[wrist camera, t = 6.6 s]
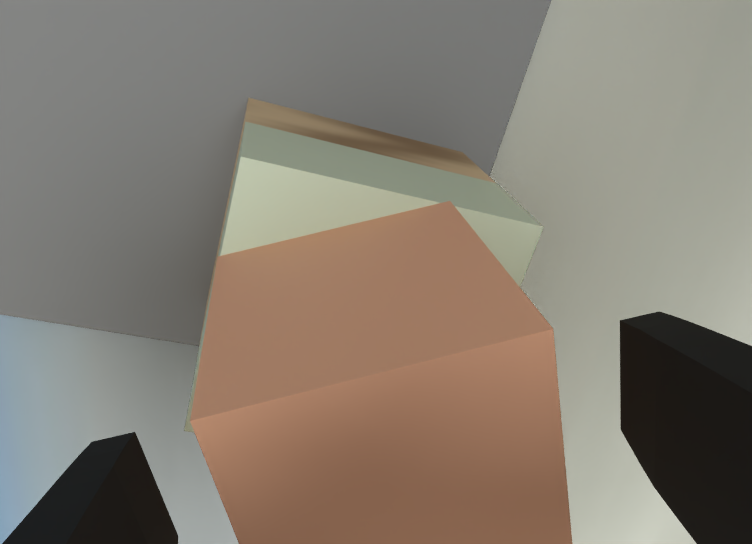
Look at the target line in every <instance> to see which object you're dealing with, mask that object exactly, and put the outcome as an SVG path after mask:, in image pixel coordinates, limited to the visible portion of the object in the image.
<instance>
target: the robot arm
mask: <svg viewBox="0 0 752 544" xmlns="http://www.w3.org/2000/svg"><path fill="white" fill-rule="evenodd" d="M620 390H621V431H622V432H623V434H624V436H625V438H626V440H627V441H628V443H629V445H630V447H631V448H632V450H633V452H634V454H635V456H636V457H637V459H638V461H639V463H640V464H641V466H642V468H643V469H644V471H645V473H646V474H647V476H648V478H649V479H650V481H651V483H652V484H653V486H654V488H655V489H656V490H657V492H658V493H659V494H660V496H661V497H662V498H663V500H664V501H665V502H666V504H667V505H668V506H669V508H670V509H671V510H672V512H673V513H674V514H675V516H676V517H677V518H678V520H679V521H680V522H681V523H682V525H683V526H684V527H685V529H686V530H687V531H688V533H689V534H690V535H691V537H692V538H693V539H694V540H695V542H696V543H697V544H752V346H750V345H747V344H745V343H742V342H740V341H737V340H735V339H732V338H730V337H727V336H725V335H722V334H720V333H717V332H715V331H712V330H709V329H707V328H704V327H702V326H699V325H697V324H694V323H691V322H689V321H686V320H683V319H680V318H678V317H675V316H672V315H668V314H665V313H662V312H655V313H651V314H647V315H642V316H638V317H633V318H629V319H625V320H620ZM2 544H178V535H177V532H176V530H175V527H174V525H173V522H172V520H171V518H170V515H169V513H168V510H167V508H166V506H165V503H164V501H163V498H162V496H161V494H160V491H159V489H158V486H157V484H156V481H155V479H154V477H153V474H152V472H151V469H150V467H149V465H148V462H147V460H146V457H145V455H144V452H143V450H142V448H141V445H140V443H139V440H138V438H137V436H136V433H135V432H133V433H128V434H124V435H120V436H115V437H111V438H107V439H102V440H98V441H94V442H91V443H90V444H89V446H88V447H87V448H86V449H85V450H84V451H83V452H82V453H81V454H80V455H79V456H78V457H77V458H76V459H75V461H74V462H73V463H72V464H71V465H70V466H69V467H68V468H67V470H66V471H65V472H64V473H63V474H62V475H61V477H60V478H59V479H58V480H57V481H56V482H55V484H54V485H53V486H52V487H51V488H50V489H49V491H48V492H47V493H46V494H45V495H44V496H43V497H42V499H41V500H40V501H39V502H38V503H37V505H36V506H35V507H34V508H33V509H32V510H31V511H30V513H29V514H28V515H27V516H26V517H25V518H24V519H23V521H22V522H21V523H20V524H19V525H18V526H17V527H16V529H15V530H14V531H13V532H12V533H11V534H10V535H9V537H8V538H7V539H6V540H5V541H4V542H3V543H2Z"/></svg>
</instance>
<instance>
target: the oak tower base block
mask: <svg viewBox="0 0 752 544" xmlns="http://www.w3.org/2000/svg"><path fill="white" fill-rule="evenodd" d="M245 122H250V123H254V124H258V125H262V126H266V127H270V128H274V129H278V130H282V131H286V132H290V133H294V134H298V135H302V136H306V137H311V138H315V139H319V140H323V141H327V142H331V143H335V144H339V145H343V146H347V147H351V148H355V149H359V150H363V151H367V152H372V153H376V154H380V155H384V156H388V157H392V158H396V159H400V160H404V161H408V162H412V163H416V164H420V165H424V166H428V167H433V168H437V169H441V170H445V171H449V172H453V173H457V174H461V175H465V176H469V177H473V178H477V179H481V180H485V181H489V182H494V181H493V180H492V179H491V178H490V177H489V176H488V175H487V174H486V173H485V172H484V171H482V170H481V169H480V168H479V167H478V166H477V165H476V164H475V163H474V162H473V161H472V160H470V159H469V158H468V157H467V156H466V155H465V154H464V153H463V152H460V151H456V150H452V149H448V148H444V147H440V146H436V145H432V144H429V143H425V142H421V141H417V140H413V139H409V138H405V137H401V136H397V135H393V134H389V133H385V132H381V131H378V130H374V129H370V128H366V127H362V126H358V125H354V124H350V123H346V122H342V121H338V120H334V119H331V118H327V117H323V116H319V115H315V114H311V113H307V112H303V111H299V110H295V109H291V108H287V107H283V106H280V105H276V104H272V103H268V102H264V101H260V100H256V99H252V98H248V103H247V108H246V113H245V118H244V123H243V128H242V132H241V137H240V142H239V147H238V152H237V157H236V162H235V167H234V172H233V176H232V181H231V186H230V191H229V196H228V201H227V206H226V211H225V216H224V221H223V225H222V230H221V235H220V240H219V245H218V250H217V255H216V260H215V265H214V269H213V274H212V279H211V284H210V289H209V294H208V299H207V304H206V310H205V315H204V321H205V316H206V311H207V306H208V302H209V297H210V292H211V287H212V282H213V277H214V272H215V267H216V262H217V257H218V253H219V248H220V243H221V238H222V233H223V228H224V224H225V219H226V214H227V209H228V204H229V199H230V194H231V189H232V185H233V180H234V175H235V170H236V165H237V160H238V155H239V151H240V146H241V141H242V136H243V131H244V126H245ZM494 183H495V182H494ZM204 321H203V326H204ZM202 331H203V327H202ZM201 336H202V332H201ZM200 341H201V338H200ZM199 345H200V344H199ZM198 350H199V349H198Z"/></svg>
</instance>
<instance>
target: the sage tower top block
mask: <svg viewBox="0 0 752 544" xmlns="http://www.w3.org/2000/svg"><path fill="white" fill-rule="evenodd" d="M447 201H451V202H452V204H453V205H454V206H455V207H456V209H457V210H458V211H459V212H460V214H461V215H462V216H463V217H464V219H465V220H466V221H467V222H468V224H469V225H470V226H471V227H472V229H473V230H474V231H475V232H476V234H477V235H478V236H479V237H480V239H481V240H482V241H483V242H484V244H485V245H486V246H487V247H488V249H489V250H490V251H491V252H492V253H493V255H494V256H495V257H496V258H497V260H498V261H499V262H500V263H501V265H502V266H503V267H504V268H505V270H506V271H507V272H508V273H509V275H510V276H511V277H512V278H513V280H514V281H515V282H516V283H517V285H518V286H519V287H520V286H521V283H522V281H523V278H524V276H525V273H526V271H527V268H528V265H529V263H530V260H531V258H532V255H533V253H534V250H535V248H536V245H537V243H538V240H539V238H540V235H541V233H542V230H543V228H544V227H543V226H542V225H541V224H540V223H539V222H538V221H537V220H536V219H535V218H534V217H532V216H531V215H530V214H529V213H528V212H527V211H526V210H525V209H524V208H523V207H522V206H521V205H519V204H518V203H517V202H516V201H515V200H514V199H513V198H512V197H511V196H510V195H509V194H507V193H506V192H505V191H504V190H503V189H502V188H501V187H500V186H499V185H498V184H497V183H494V182H489V181H485V180H481V179H477V178H473V177H469V176H465V175H461V174H457V173H453V172H449V171H445V170H441V169H437V168H433V167H428V166H424V165H420V164H416V163H412V162H408V161H404V160H400V159H396V158H392V157H388V156H384V155H380V154H376V153H372V152H367V151H363V150H359V149H355V148H351V147H347V146H343V145H339V144H335V143H331V142H327V141H323V140H319V139H315V138H311V137H306V136H302V135H298V134H294V133H290V132H286V131H282V130H278V129H274V128H270V127H266V126H262V125H258V124H254V123H250V122H245V126H244V131H243V136H242V141H241V146H240V151H239V155H238V160H237V165H236V170H235V175H234V180H233V185H232V189H231V194H230V199H229V204H228V209H227V214H226V219H225V224H224V228H223V233H222V238H221V243H220V248H219V253H218V256H222V255H226V254H230V253H234V252H239V251H243V250H247V249H251V248H255V247H259V246H264V245H268V244H272V243H276V242H280V241H284V240H289V239H293V238H297V237H301V236H305V235H309V234H314V233H318V232H322V231H326V230H330V229H334V228H339V227H343V226H347V225H351V224H355V223H359V222H363V221H368V220H372V219H376V218H380V217H384V216H388V215H393V214H397V213H401V212H405V211H409V210H413V209H418V208H422V207H426V206H430V205H434V204H438V203H443V202H447ZM215 268H216V267H215ZM214 274H215V272H214ZM213 280H214V277H213ZM212 286H213V282H212ZM211 292H212V287H211ZM211 292H210V297H209V302H208V306H207V311H206V316H205V321H204V326H203V331H202V336H201V341H200V345H199V350H198V355H197V361H196V366H195V372H194V378H193V383H192V389H191V395H190V400H189V406H188V412H187V417H186V423H185V429H184V431H187V432H194V430H193V427H192V425H191V422H190V418H191V412H192V406H193V400H194V394H195V388H196V382H197V376H198V370H199V364H200V358H201V352H202V346H203V340H204V334H205V328H206V322H207V316H208V310H209V304H210V298H211Z"/></svg>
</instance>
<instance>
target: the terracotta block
mask: <svg viewBox="0 0 752 544" xmlns="http://www.w3.org/2000/svg"><path fill="white" fill-rule="evenodd" d="M190 422H191V425H192V427H193V430H194V432H195V435H196V437H197V440H198V442H199V445H200V447H201V450H202V452H203V455H204V457H205V460H206V462H207V465H208V467H209V470H210V472H211V475H212V477H213V480H214V482H215V485H216V487H217V490H218V492H219V495H220V497H221V500H222V502H223V505H224V507H225V510H226V512H227V515H228V517H229V520H230V522H231V525H232V527H233V530H234V532H235V535H236V537H237V540H238V542H239V544H572V535H571V524H570V513H569V502H568V490H567V479H566V468H565V457H564V445H563V434H562V423H561V412H560V400H559V389H558V378H557V367H556V355H555V344H554V333H553V328H552V327H551V326H550V324H549V323H548V322H547V321H546V319H545V318H544V317H543V316H542V314H541V313H540V312H539V311H538V309H537V308H536V307H535V306H534V304H533V303H532V302H531V301H530V300H529V298H528V297H527V296H526V295H525V293H524V292H523V291H522V290H521V288H520V287H519V286H518V285H517V283H516V282H515V281H514V280H513V278H512V277H511V276H510V275H509V273H508V272H507V271H506V270H505V268H504V267H503V266H502V265H501V263H500V262H499V261H498V260H497V258H496V257H495V256H494V255H493V253H492V252H491V251H490V250H489V249H488V247H487V246H486V245H485V244H484V242H483V241H482V240H481V239H480V237H479V236H478V235H477V234H476V232H475V231H474V230H473V229H472V227H471V226H470V225H469V224H468V222H467V221H466V220H465V219H464V217H463V216H462V215H461V214H460V212H459V211H458V210H457V209H456V207H455V206H454V205H453V204H452V202H451V201H447V202H443V203H438V204H434V205H430V206H426V207H422V208H418V209H413V210H409V211H405V212H401V213H397V214H393V215H388V216H384V217H380V218H376V219H372V220H368V221H363V222H359V223H355V224H351V225H347V226H343V227H339V228H334V229H330V230H326V231H322V232H318V233H314V234H309V235H305V236H301V237H297V238H293V239H289V240H284V241H280V242H276V243H272V244H268V245H264V246H259V247H255V248H251V249H247V250H243V251H239V252H234V253H230V254H226V255H222V256H218V257H217V262H216V268H215V274H214V280H213V286H212V292H211V298H210V304H209V310H208V316H207V322H206V328H205V334H204V340H203V346H202V352H201V358H200V364H199V370H198V376H197V382H196V388H195V394H194V400H193V406H192V412H191V418H190Z"/></svg>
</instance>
